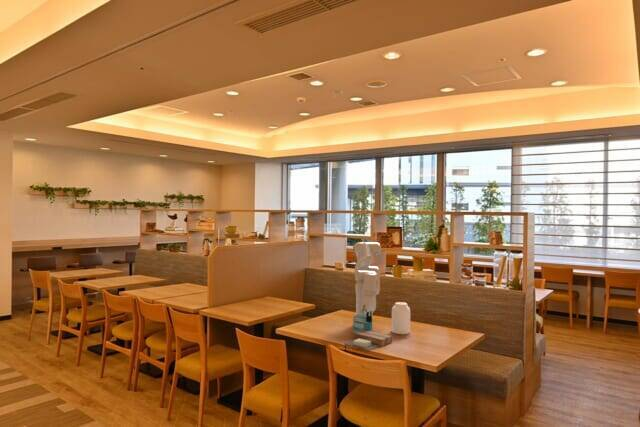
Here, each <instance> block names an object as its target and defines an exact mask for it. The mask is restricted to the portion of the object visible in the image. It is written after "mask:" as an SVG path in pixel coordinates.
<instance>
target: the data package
mask: <svg viewBox="0 0 640 427" xmlns="http://www.w3.org/2000/svg"><path fill="white" fill-rule="evenodd" d="M352 322H353V326H352V328H353V331H352V332H353V334H355V333H358V332H361V331H364V330H369V331H373V321H372V322H370V323H369V322H366V316H364V315H356V314H355V315H354V316H353V321H352Z"/></svg>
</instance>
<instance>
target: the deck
mask: <svg viewBox="0 0 640 427" xmlns="http://www.w3.org/2000/svg"><path fill="white" fill-rule="evenodd" d="M359 338H360V339H364V340H368V341H371V343H372V344H376V345H380V346H379V347H383V346H386V345H388V344H391V343H393V336H392V335H390V334H386V333H382V332H379V331H378V332H377V331H374V330H372V331H369V330H364V331H361V332H358V333H354V340H356V339H359Z"/></svg>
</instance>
